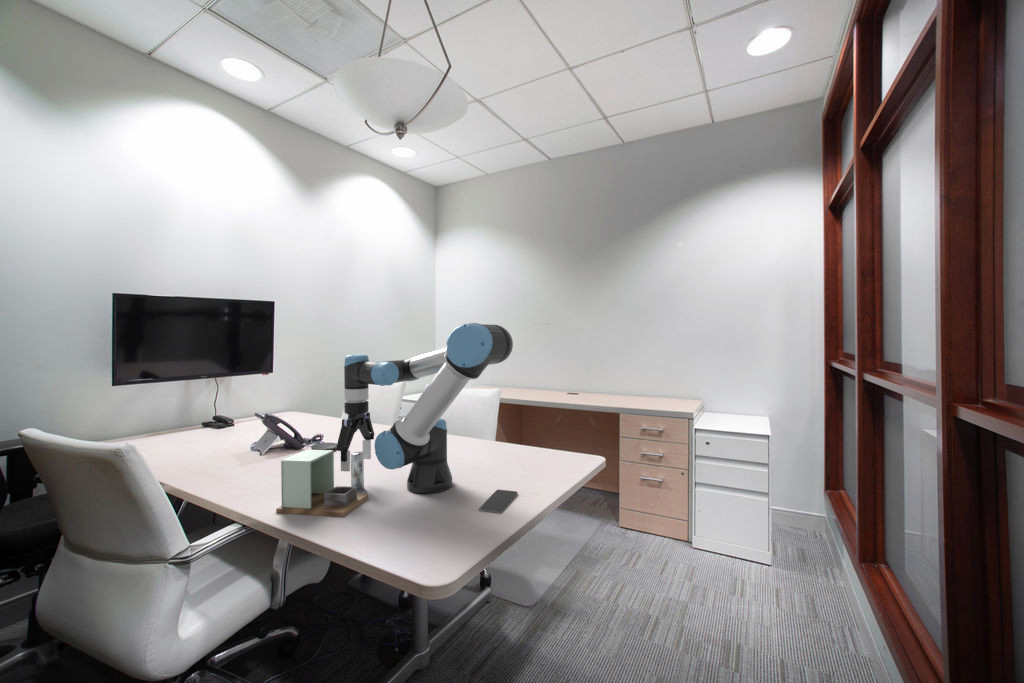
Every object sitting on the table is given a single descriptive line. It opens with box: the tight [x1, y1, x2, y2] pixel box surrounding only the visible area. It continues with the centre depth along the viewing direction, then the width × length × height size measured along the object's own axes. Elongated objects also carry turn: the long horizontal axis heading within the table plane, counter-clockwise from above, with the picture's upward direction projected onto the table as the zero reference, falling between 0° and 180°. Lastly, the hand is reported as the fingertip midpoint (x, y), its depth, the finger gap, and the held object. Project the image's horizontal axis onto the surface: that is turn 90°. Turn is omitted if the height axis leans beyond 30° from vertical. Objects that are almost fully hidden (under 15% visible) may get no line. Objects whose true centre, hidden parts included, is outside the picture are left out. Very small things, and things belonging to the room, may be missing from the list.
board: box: [275, 485, 369, 518], centre depth 125 cm, size 21×14×5 cm, turn 81°
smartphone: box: [478, 489, 518, 515], centre depth 127 cm, size 7×1×16 cm
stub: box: [350, 451, 365, 492], centre depth 139 cm, size 4×4×12 cm
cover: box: [280, 449, 335, 509], centre depth 126 cm, size 9×12×14 cm
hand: (356, 464), depth 139 cm, fingers open, 13 cm apart
